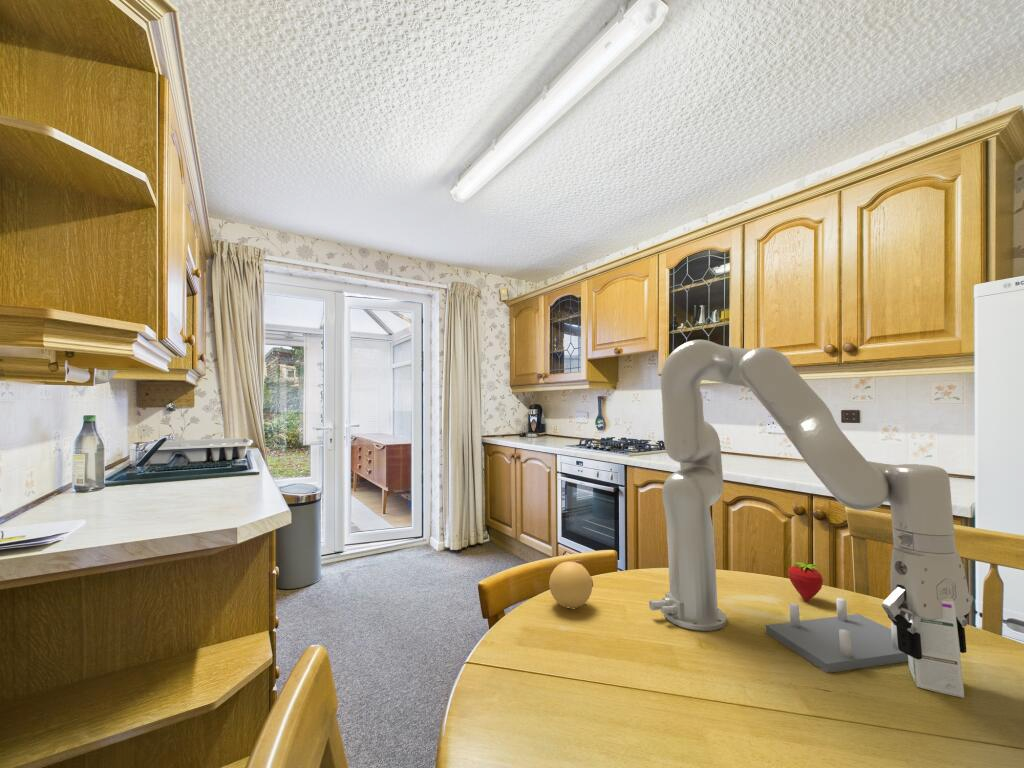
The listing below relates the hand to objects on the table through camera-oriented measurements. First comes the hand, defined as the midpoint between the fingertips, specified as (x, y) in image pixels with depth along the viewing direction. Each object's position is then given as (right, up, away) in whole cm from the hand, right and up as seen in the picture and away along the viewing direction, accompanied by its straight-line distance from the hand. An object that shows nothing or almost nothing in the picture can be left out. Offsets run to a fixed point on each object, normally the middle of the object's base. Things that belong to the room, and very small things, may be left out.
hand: (932, 651), depth 71 cm
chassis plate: (-5, -6, +12) cm, 14 cm away
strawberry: (+1, -7, +31) cm, 32 cm away
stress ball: (-54, -8, +30) cm, 63 cm away
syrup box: (0, -5, 0) cm, 5 cm away
